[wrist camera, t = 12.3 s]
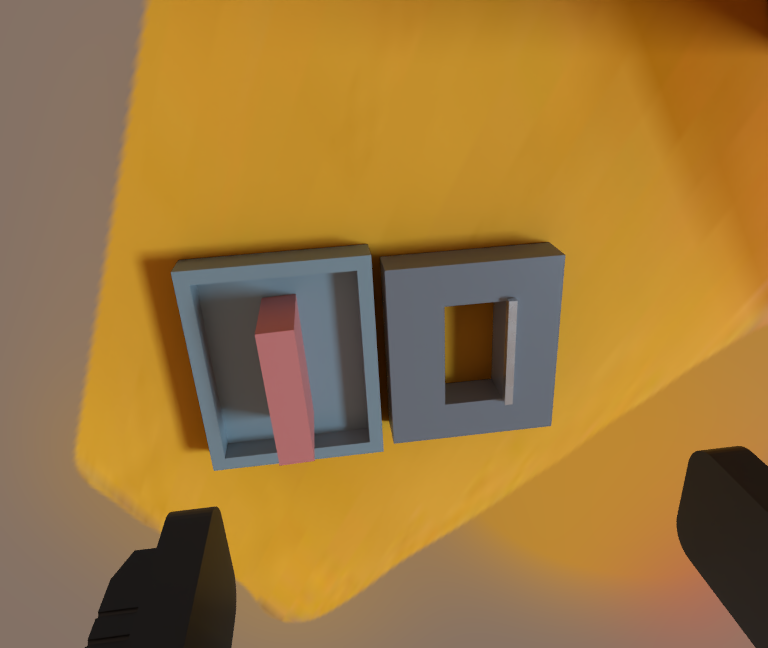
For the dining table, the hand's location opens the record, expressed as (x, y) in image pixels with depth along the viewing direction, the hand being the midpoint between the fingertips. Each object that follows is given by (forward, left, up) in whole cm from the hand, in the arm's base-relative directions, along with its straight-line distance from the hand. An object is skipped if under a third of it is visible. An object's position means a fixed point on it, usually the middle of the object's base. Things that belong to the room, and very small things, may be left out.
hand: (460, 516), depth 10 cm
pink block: (+5, +18, -28) cm, 34 cm away
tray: (+6, +13, -32) cm, 35 cm away
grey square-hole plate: (-8, +13, -32) cm, 36 cm away
